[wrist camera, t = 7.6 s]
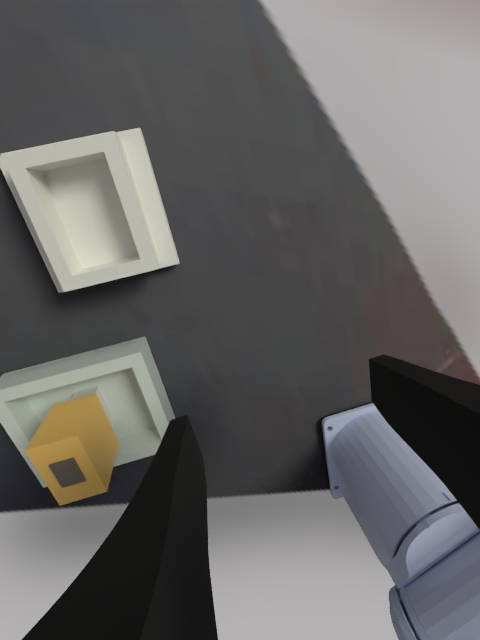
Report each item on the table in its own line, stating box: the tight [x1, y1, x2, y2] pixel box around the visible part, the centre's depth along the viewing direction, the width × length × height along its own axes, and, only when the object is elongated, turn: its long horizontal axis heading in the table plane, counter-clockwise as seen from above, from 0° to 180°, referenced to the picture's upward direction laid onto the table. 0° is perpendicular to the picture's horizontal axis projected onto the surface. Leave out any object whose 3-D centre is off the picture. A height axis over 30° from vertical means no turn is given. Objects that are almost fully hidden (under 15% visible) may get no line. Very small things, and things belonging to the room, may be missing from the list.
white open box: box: [0, 128, 179, 293], centre depth 16 cm, size 7×7×3 cm
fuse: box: [25, 386, 119, 506], centre depth 18 cm, size 4×2×6 cm, turn 11°
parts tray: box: [0, 337, 176, 488], centre depth 20 cm, size 8×9×2 cm
